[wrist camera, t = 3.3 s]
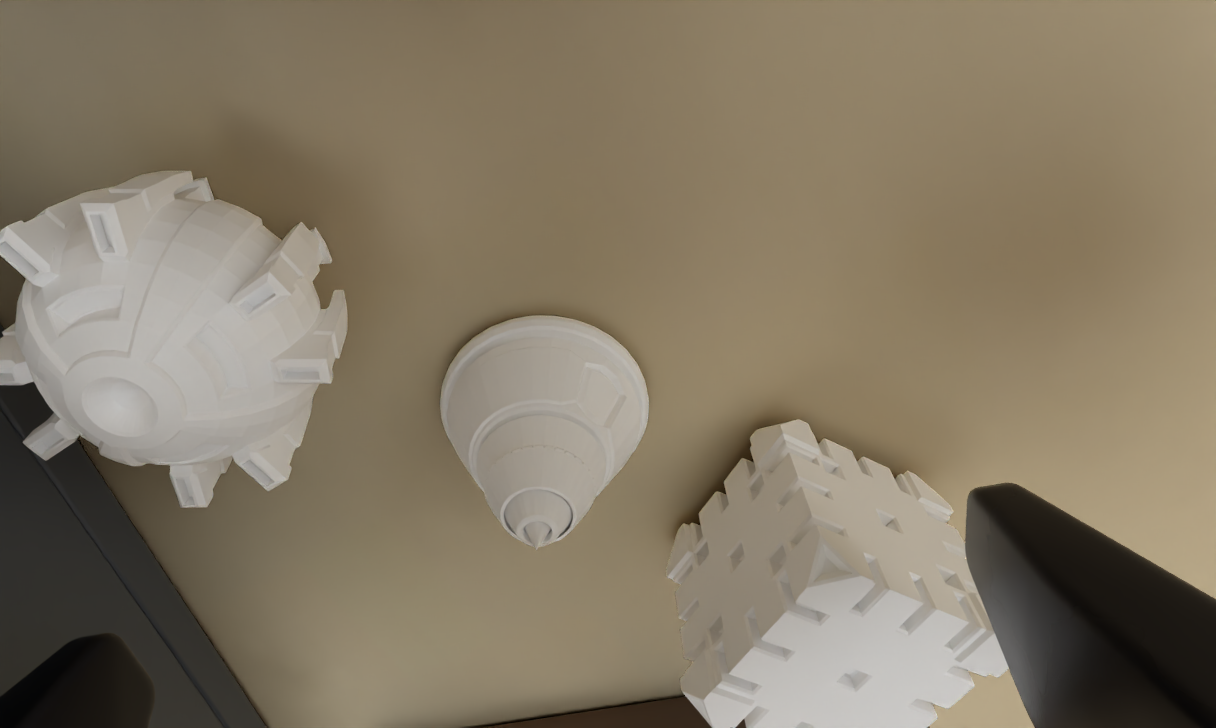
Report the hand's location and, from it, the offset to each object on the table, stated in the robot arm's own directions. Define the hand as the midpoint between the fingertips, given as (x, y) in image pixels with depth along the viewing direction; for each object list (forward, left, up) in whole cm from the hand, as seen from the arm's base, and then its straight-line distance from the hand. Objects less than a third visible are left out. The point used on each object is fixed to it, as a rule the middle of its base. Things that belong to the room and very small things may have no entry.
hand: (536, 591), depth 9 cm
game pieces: (0, 0, -4) cm, 4 cm away
